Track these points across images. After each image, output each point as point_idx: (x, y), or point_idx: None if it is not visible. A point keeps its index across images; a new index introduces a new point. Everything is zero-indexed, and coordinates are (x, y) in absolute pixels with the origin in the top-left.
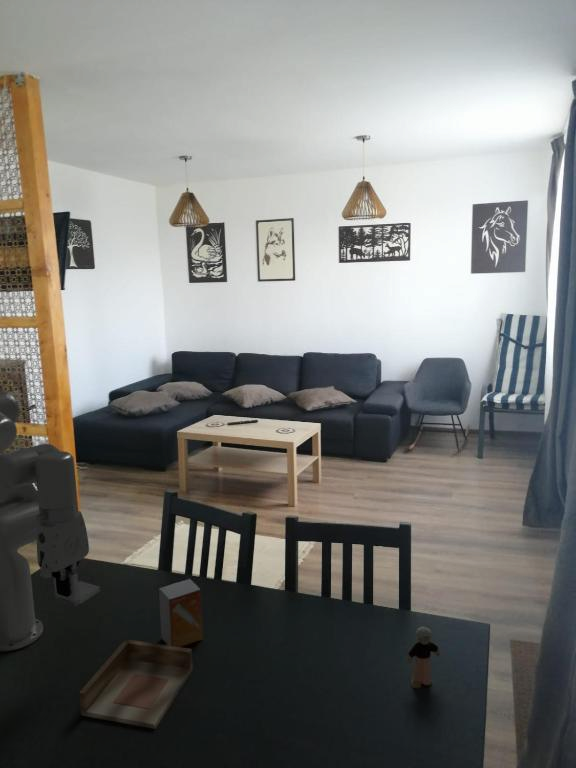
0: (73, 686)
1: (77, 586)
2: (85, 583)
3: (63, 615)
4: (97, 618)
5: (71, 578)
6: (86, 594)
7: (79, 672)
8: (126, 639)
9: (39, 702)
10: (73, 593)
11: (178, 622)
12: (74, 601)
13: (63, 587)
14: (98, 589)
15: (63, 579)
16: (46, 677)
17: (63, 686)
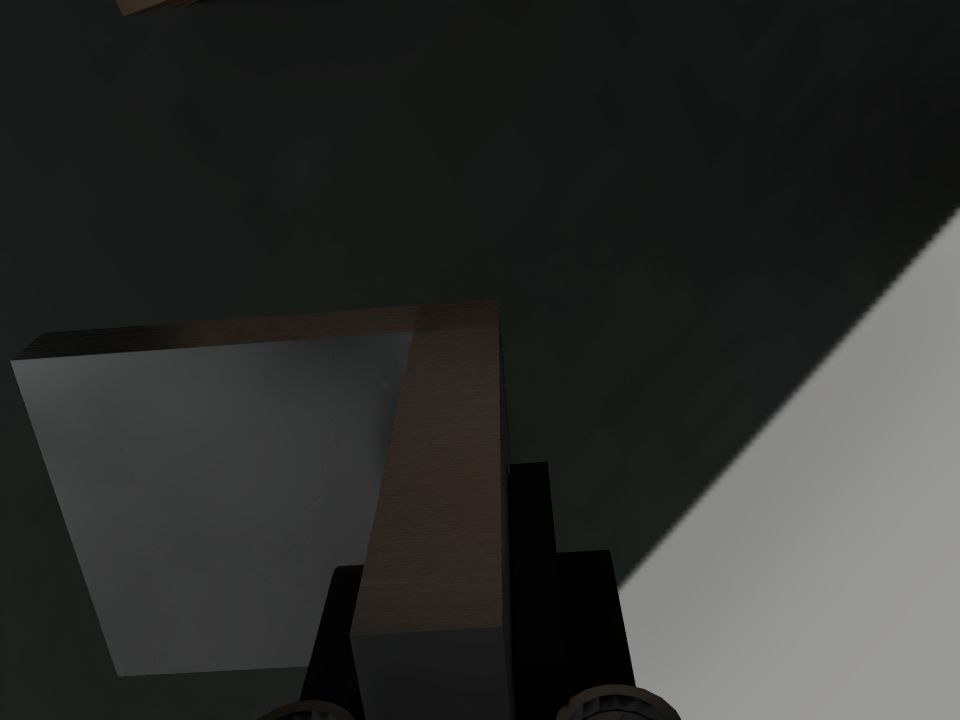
0: (577, 100)
1: (416, 442)
2: (107, 583)
3: (179, 679)
4: (60, 515)
5: (503, 611)
6: (270, 355)
7: (463, 183)
8: (118, 6)
9: (781, 161)
10: (501, 411)
11: None
12: (500, 345)
13: (579, 604)
14: (56, 346)
15: (606, 711)
16: (600, 316)
17: (608, 157)
